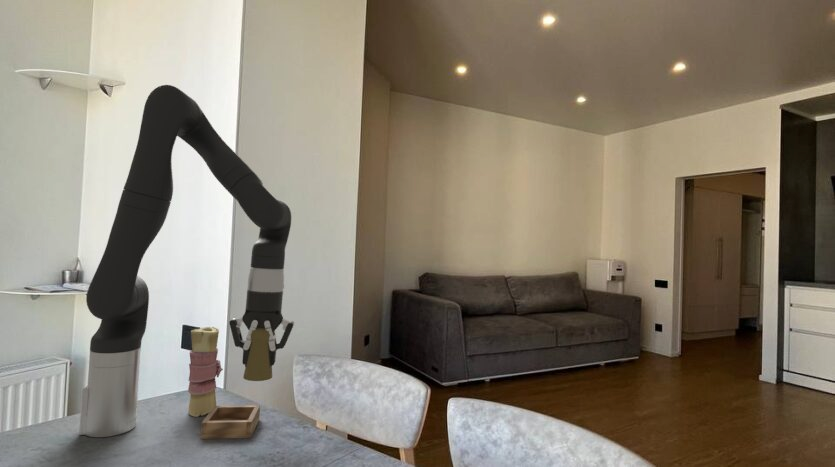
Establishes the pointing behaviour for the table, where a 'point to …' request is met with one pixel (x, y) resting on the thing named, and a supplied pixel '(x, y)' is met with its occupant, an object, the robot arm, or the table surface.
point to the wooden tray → (230, 422)
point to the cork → (258, 357)
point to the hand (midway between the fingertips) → (258, 366)
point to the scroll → (203, 370)
